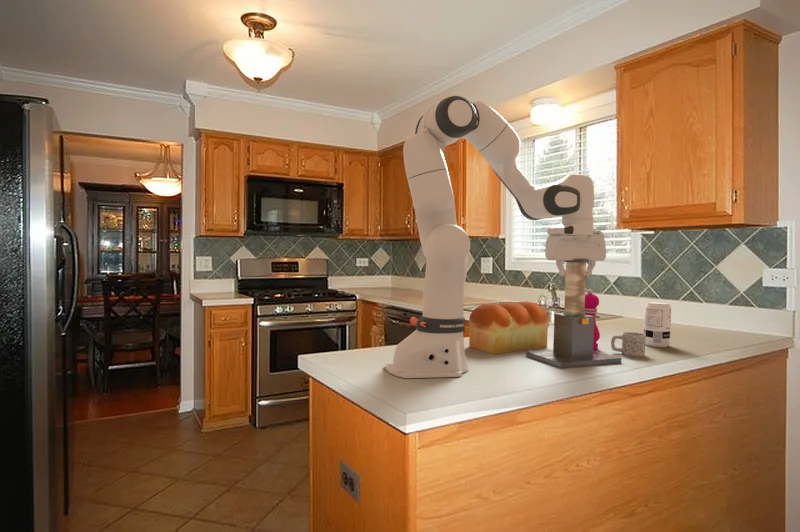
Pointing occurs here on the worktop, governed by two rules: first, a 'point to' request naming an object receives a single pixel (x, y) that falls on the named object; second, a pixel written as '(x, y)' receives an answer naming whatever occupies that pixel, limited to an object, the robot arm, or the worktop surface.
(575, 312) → the column
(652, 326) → the supplement can
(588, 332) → the stand
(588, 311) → the pink tall rounded piece
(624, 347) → the mug
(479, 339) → the bread
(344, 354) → the worktop surface
